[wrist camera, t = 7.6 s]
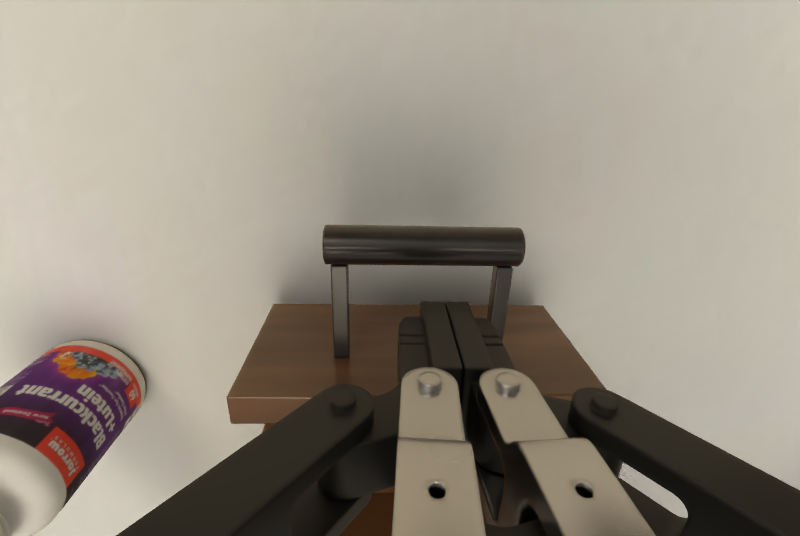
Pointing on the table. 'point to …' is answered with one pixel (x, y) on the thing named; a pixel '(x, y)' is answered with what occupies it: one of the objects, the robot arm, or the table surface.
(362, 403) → the robot arm
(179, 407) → the table surface
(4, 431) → the pill bottle
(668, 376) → the table surface
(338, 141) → the table surface
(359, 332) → the drawer
